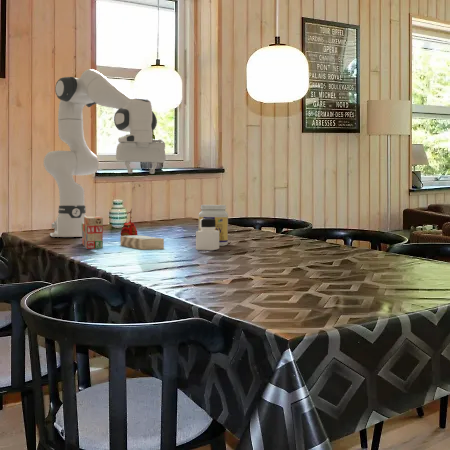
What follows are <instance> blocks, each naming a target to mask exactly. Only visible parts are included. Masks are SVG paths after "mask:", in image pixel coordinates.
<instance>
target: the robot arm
mask: <svg viewBox="0 0 450 450" xmlns="http://www.w3.org/2000/svg"><path fill="white" fill-rule="evenodd" d="M55 83H56V84H55V86H54V92H55V95H56V97H57V98H58V99H59V100H60V101H59V104H58V111H57V112H58V114H57V121H58V122H57V123H58V124H57V125H58V137H59V140H60V141H62V142H63V143H65V144H67V146H68V147H69V150H53V151H49V152H47V153H46V154H45V156H44V158H43V167H44V169H45V171H46V172H47V173H48V174H49V175H51V177H52V178H53V179H54V180H55V182H56V184H57V187H58V194H59V205H58V208H57V209H58V216H57V217H56V219H55V220H54V222H51V228H52V229H53V230H54V232H50V233H49V236H51V237H52V238H55V237H57V238H59V237H60V238H74V237H76V238H77V237H80V238H81V237H82V223H84V217H88V216H87V215H86V210H87V208H86V204H85V189H84V187H83V186H82V185H81V184H79V183H77V182H76V181H75V179H74V176H89V175H90V176H91V175H94V174H95V173H96V172H97V171H98V170H99V166H100V161H99V157H98V156H97V155H96V153H94V152H93V151H92V150H91V149H90V148H89V146H88V144H87V141H86V138H85V133H84V113H83V110H84V107H85V106H86V107H87V108H91V107H92V106H94V105H99V106H102V107H106V108H111V109H117V110H116V112H115V113H114V115H113V123H114V125H115V127H116V129H117V130H118V131H121V132H126V133H127V132H129V134H126V135H122V136H120V137H118V138H117V140H118V144H117V146H116V149H115V150H116V153H115V160H116V161H117V162H124V165H125V168H126V169H127V173H128V174H133V171H134V168H131V166H130V165H131V162H132V163H133V162H136V163H151V165H152V166H151V168H150V169H149V174H151V175H153V174H155V172H156V171H155V169H156V168H157V166H158V163H165V161H166V160H167V159H166V150H165V149H166V143H165V141H163V140H162V139H154V138H153V132H154V131H155V129H156V127H157V125H158V119H157V115H156V114H155V113H154V111H153V108H152V107H153V106H152V103H151V101H150V100H149V99H148V98H140V97H133V98H132V97H131V96H129V95H128V94H126V93H125V92H124V91H122V90H121V89H119V88H118V87H117V86H116V85H115V84H113V83H112V82H111V81H110V80H109V79H108V78H107V77H106V76H105V75H104V74H102V73H100V72H99V71H97V70H95V69H93V68H92V69H91V68H90V69H86V70H84V71H83V72H82V73H81V75H80V77H74V76H64V77H61V78H59V79H58V80H57V82H55Z"/></svg>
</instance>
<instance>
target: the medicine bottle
mask: <svg viewBox="0 0 450 450" xmlns="http://www.w3.org/2000/svg"><path fill="white" fill-rule="evenodd" d="M200 229H201V231H199V230H196V231H195V250H196V251H215V250H219V249H220V246H219V231H217V230H215V219H212V218H204V219H201V220H200Z"/></svg>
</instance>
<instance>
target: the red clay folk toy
mask: <svg viewBox="0 0 450 450" xmlns="http://www.w3.org/2000/svg"><path fill="white" fill-rule="evenodd" d="M132 210H133V208H131V209H130V211H126V214H129V222H124V223H123V227H122V229H121V230H120V237H121V236H132V235H138V230H137V226H135V223H134V222H132Z"/></svg>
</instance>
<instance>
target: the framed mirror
mask: <svg viewBox="0 0 450 450" xmlns="http://www.w3.org/2000/svg"><path fill="white" fill-rule="evenodd" d="M164 244H165V238H161V237H153V236H148V235H140V234H139V235H132V236H121V235H120V246H123V247H126V248H132V249H138V250H144V251H145V250H161V249H163V250H164V249H165V248H164V247H165V245H164Z"/></svg>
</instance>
